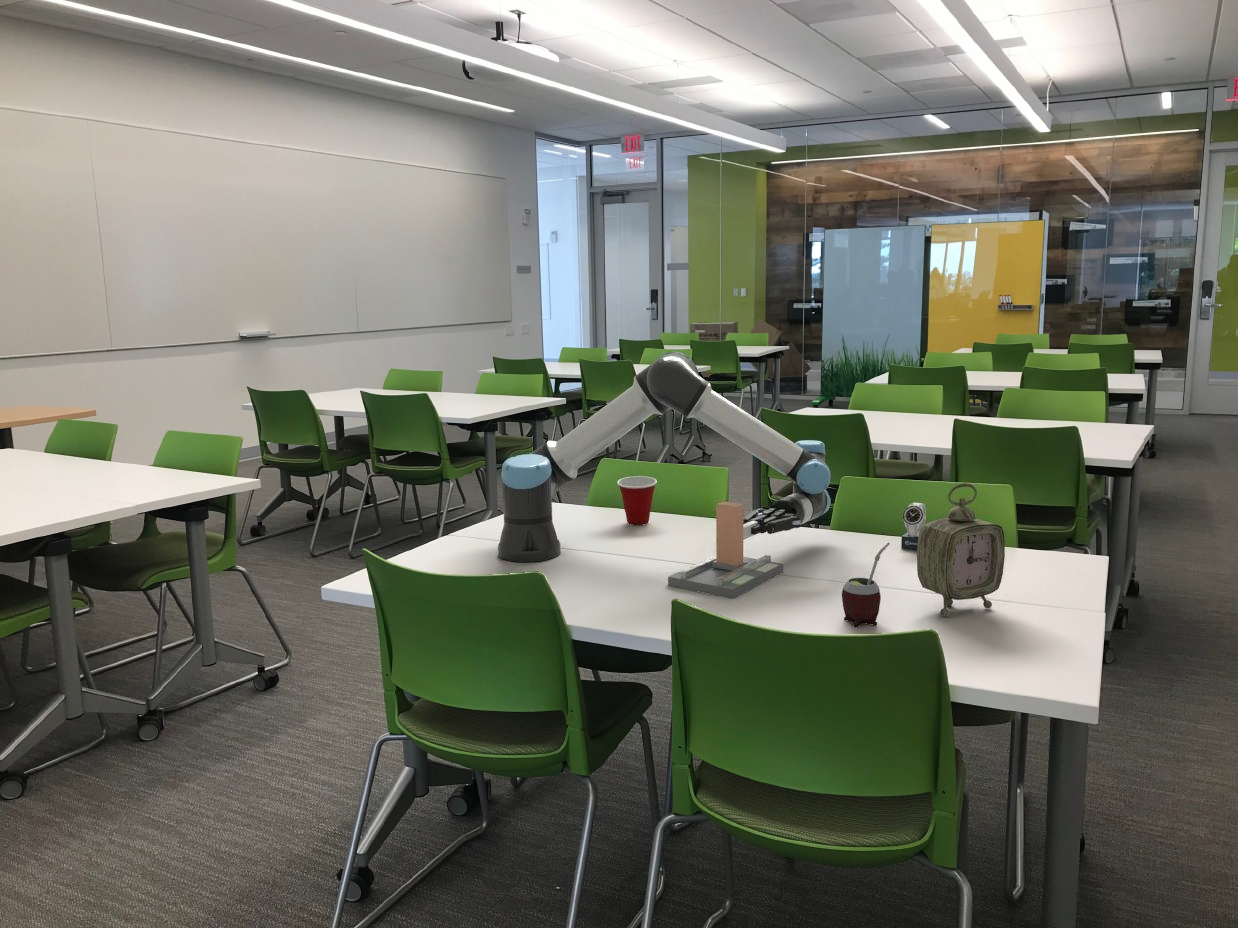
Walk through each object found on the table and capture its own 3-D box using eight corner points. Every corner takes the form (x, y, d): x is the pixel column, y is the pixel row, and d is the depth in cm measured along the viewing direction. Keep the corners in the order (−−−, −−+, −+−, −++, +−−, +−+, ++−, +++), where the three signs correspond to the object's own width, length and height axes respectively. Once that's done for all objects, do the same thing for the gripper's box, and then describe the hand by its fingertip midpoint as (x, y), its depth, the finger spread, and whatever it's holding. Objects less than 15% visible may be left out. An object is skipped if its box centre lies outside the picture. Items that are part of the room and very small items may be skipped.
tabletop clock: (943, 621, 178) (949, 491, 174) (910, 607, 186) (915, 482, 182) (1001, 609, 184) (1008, 483, 179) (967, 596, 192) (973, 475, 188)
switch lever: (712, 567, 208) (712, 504, 205) (721, 562, 211) (721, 500, 209) (737, 571, 204) (738, 507, 202) (747, 567, 207) (747, 504, 205)
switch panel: (668, 585, 203) (667, 569, 203) (721, 561, 220) (721, 546, 220) (732, 598, 194) (732, 582, 193) (783, 572, 211) (783, 557, 210)
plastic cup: (614, 527, 254) (613, 483, 251) (621, 518, 264) (620, 475, 262) (655, 528, 252) (654, 484, 250) (660, 518, 262) (659, 476, 260)
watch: (898, 550, 226) (900, 505, 224) (909, 542, 233) (910, 499, 231) (922, 553, 223) (923, 508, 221) (932, 546, 230) (934, 501, 228)
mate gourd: (836, 624, 178) (837, 547, 175) (849, 612, 184) (851, 537, 182) (875, 631, 174) (878, 552, 171) (888, 618, 180) (890, 542, 178)
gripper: (815, 531, 222) (766, 554, 203) (765, 523, 230) (714, 545, 211) (815, 499, 221) (767, 520, 202) (765, 493, 228) (714, 512, 210)
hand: (740, 533), depth 207 cm, fingers closed
